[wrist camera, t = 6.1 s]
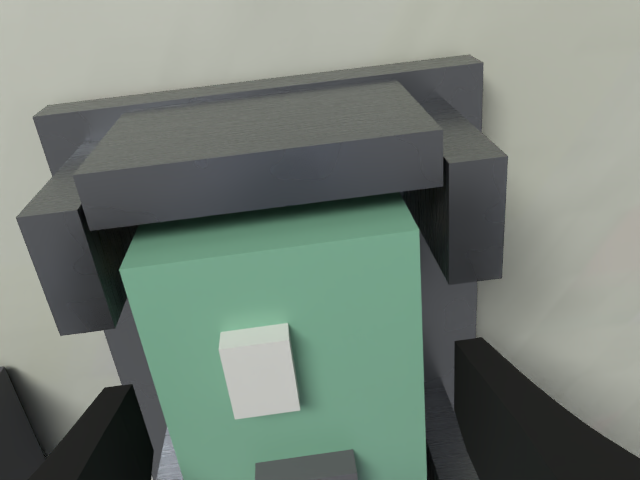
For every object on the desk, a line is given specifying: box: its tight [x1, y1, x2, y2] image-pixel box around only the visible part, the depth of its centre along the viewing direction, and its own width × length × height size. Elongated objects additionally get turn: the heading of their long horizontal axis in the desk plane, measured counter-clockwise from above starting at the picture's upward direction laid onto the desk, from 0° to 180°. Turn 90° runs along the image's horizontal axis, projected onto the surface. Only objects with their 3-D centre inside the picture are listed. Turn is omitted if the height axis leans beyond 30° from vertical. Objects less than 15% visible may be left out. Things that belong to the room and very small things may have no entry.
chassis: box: [16, 55, 508, 480], centre depth 14 cm, size 10×12×5 cm
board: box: [119, 192, 427, 480], centre depth 12 cm, size 5×9×3 cm, turn 6°
